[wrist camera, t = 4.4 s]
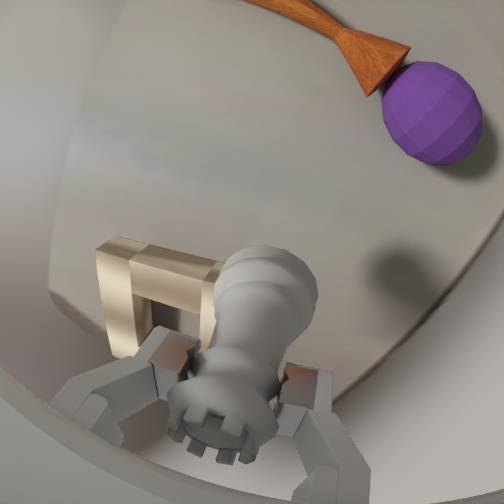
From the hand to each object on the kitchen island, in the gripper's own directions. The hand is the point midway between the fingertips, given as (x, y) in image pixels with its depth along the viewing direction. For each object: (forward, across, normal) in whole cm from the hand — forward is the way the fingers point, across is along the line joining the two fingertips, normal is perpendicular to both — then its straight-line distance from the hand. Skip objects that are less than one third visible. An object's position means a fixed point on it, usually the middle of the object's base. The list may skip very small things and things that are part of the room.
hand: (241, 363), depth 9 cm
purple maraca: (+14, -1, -13) cm, 19 cm away
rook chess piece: (+5, 0, 0) cm, 5 cm away
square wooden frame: (+12, +8, +10) cm, 18 cm away
